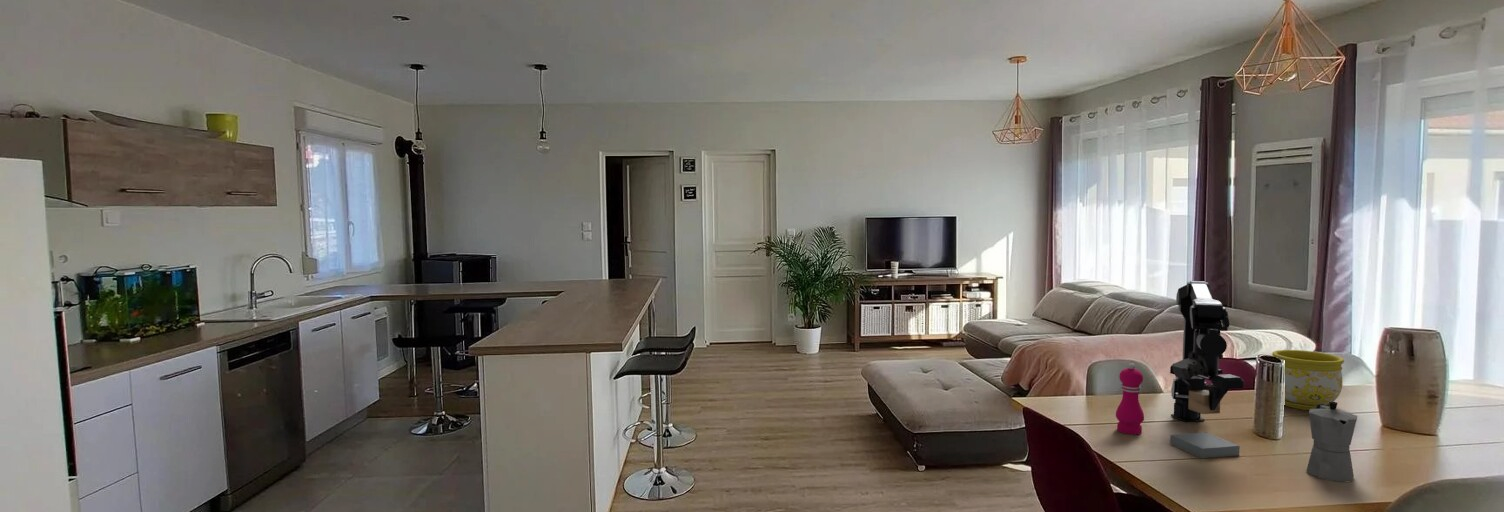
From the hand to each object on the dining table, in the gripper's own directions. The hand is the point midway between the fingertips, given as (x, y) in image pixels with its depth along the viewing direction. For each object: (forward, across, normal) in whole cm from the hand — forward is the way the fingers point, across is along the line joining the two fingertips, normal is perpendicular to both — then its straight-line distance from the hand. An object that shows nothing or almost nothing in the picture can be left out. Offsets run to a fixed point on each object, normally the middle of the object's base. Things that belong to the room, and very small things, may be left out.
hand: (1204, 407), depth 186 cm
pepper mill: (+11, -17, -9) cm, 22 cm away
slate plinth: (+11, 0, 0) cm, 11 cm away
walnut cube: (+1, 0, 0) cm, 1 cm away
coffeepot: (+12, +20, +16) cm, 28 cm away
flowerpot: (+11, -29, +63) cm, 70 cm away
